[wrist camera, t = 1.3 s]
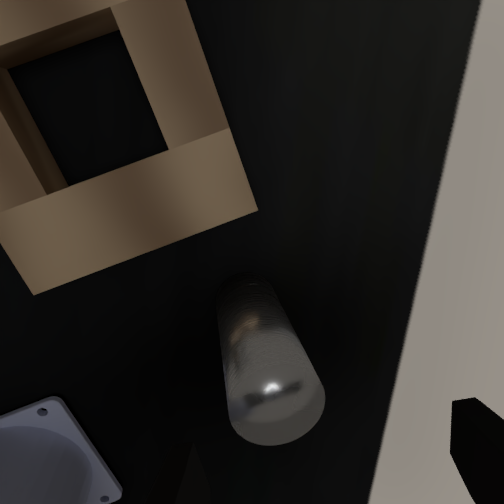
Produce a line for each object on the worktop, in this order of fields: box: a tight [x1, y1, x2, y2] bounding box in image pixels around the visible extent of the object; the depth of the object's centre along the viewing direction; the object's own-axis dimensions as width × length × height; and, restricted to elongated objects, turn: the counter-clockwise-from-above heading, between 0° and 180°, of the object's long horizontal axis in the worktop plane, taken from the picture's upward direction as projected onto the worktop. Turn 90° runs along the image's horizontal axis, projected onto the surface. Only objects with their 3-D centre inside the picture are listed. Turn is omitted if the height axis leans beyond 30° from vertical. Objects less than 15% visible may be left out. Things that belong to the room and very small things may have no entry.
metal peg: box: [216, 272, 325, 445], centre depth 15 cm, size 3×3×8 cm
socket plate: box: [0, 0, 258, 295], centre depth 14 cm, size 10×12×2 cm
